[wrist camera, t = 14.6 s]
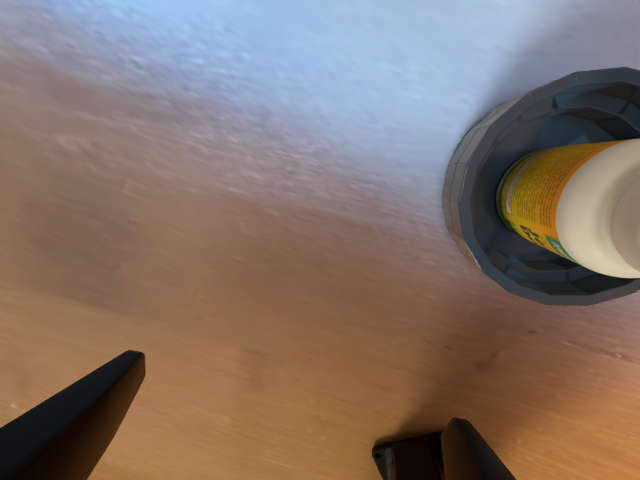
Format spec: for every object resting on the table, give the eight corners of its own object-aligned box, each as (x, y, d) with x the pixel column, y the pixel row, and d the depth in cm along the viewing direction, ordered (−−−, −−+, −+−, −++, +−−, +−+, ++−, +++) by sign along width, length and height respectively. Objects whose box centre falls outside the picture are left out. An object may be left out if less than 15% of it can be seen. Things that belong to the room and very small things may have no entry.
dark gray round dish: (667, 241, 18) (748, 261, 14) (472, 301, 21) (496, 332, 17) (622, 50, 16) (702, 15, 12) (414, 142, 19) (426, 137, 15)
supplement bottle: (611, 160, 17) (896, 155, 8) (567, 249, 19) (766, 333, 9) (513, 136, 18) (677, 106, 8) (478, 225, 19) (584, 283, 10)
